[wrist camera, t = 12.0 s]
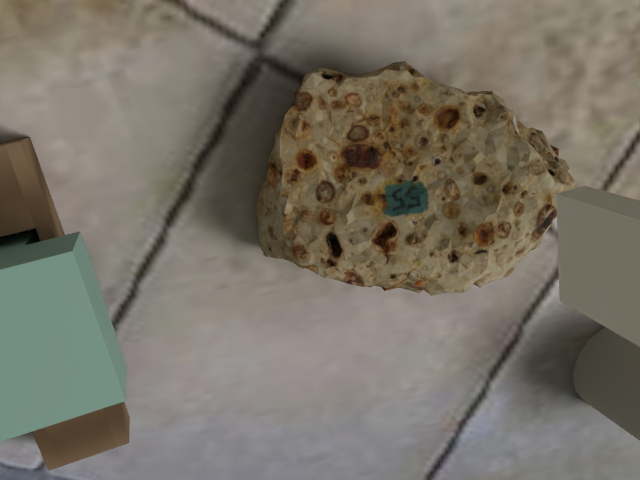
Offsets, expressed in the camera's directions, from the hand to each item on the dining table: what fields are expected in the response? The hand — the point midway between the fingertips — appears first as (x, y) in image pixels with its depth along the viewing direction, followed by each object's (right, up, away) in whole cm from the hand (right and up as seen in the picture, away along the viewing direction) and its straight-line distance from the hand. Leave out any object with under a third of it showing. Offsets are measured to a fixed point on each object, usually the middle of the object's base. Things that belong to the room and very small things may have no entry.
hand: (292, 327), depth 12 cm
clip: (-17, -2, +23) cm, 29 cm away
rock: (+6, +7, +29) cm, 30 cm away
